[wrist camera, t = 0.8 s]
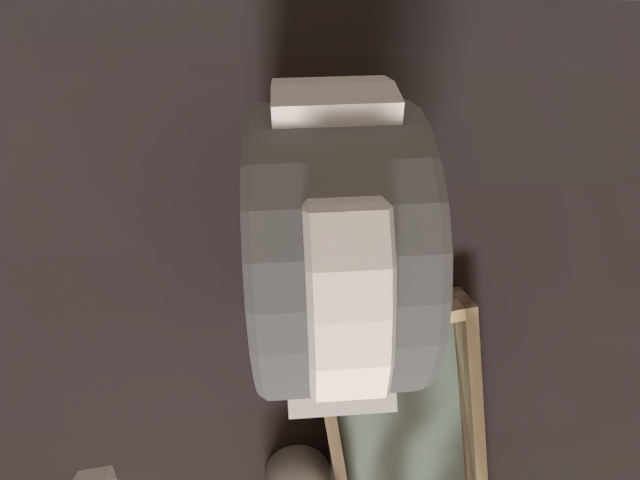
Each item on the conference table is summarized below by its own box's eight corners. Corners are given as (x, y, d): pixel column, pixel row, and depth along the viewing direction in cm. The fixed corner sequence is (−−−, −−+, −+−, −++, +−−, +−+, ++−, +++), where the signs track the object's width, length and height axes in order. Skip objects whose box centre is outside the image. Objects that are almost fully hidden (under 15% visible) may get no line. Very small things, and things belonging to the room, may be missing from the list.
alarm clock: (257, 83, 34) (219, 70, 15) (374, 80, 34) (486, 62, 15) (272, 311, 39) (258, 519, 20) (373, 305, 40) (455, 504, 21)
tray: (345, 529, 47) (351, 568, 43) (307, 312, 40) (309, 335, 36) (474, 506, 47) (491, 543, 43) (459, 286, 40) (478, 306, 36)
